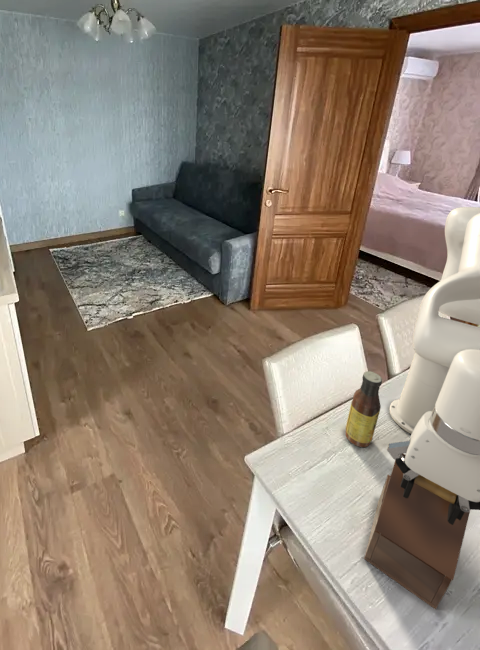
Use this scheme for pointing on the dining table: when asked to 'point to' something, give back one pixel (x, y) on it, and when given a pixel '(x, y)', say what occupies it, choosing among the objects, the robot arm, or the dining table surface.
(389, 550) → the storage box
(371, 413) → the sauce bottle
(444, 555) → the box lid
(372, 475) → the dining table surface
